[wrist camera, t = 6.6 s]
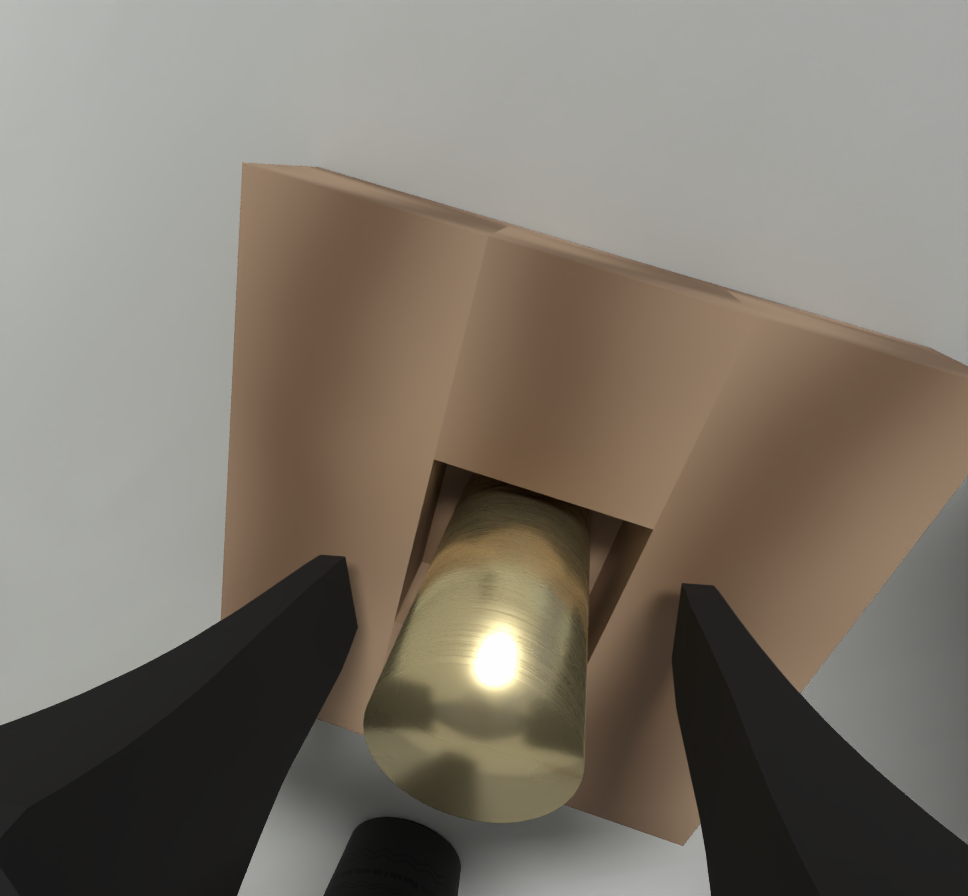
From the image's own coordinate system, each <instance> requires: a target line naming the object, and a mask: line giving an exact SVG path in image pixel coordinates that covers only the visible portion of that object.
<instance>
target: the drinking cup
mask: <svg viewBox="0 0 968 896" xmlns="http://www.w3.org/2000/svg"><path fill="white" fill-rule="evenodd" d="M460 870H461V865H460V860H459V857H458V855H457V853H456V852H455V850H454V849H453V847H452V846H451V845H450V844H449V843H448V842H447V841H446V840H445V839H443V838H442V837H441V836H440V835H438V834H437V833H435V832H433V831H432V830H430V829H428V828H426V827H424V826H421V825H419V824H416V823H413V822H410V821H406V820H401V819H394V818H378V819H372V820H369V821H366V822H364V823H362V824H361V825H359V826H358V827H357V828H356V829H355V830H354V832H353V833H352V835H351V838H350V840H349V842H348V844H347V846H346V848H345V850H344V853H343V855H342V857H341V859H340V861H339V863H338V865H337V868H336V870H335V872H334V874H333V876H332V878H331V880H330V883H329V885H328V887H327V889H326V891H325V893H324V895H323V896H458V888H459V879H460Z"/></svg>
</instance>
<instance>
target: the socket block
mask: <svg viewBox="0 0 968 896" xmlns="http://www.w3.org/2000/svg"><path fill="white" fill-rule="evenodd" d="M474 473H478V474H481V475H484V476H487V477H491V478H494V479H497V480H500V481H503V482H506V483H509V484H512V485H516V486H519V487H522V488H525V489H528V490H531V491H534V492H538V493H541V494H544V495H547V496H550V497H553V498H556V499H559V500H563V501H566V502H569V503H572V504H575V505H578V506H581V507H584V508H588V509H591V545H590V581H589V617H588V653H587V689H586V725H585V761H584V773H583V778H582V781H581V783H580V785H579V788H578V789H577V791H576V792H575V794H574V795H573V796H572V797H571V798H570V799H569V800H568V801H567V802H566V803H565V804H564V805H566V806H569V807H572V808H575V809H578V810H581V811H584V812H587V813H589V814H592V815H595V816H598V817H601V818H604V819H607V820H610V821H613V822H615V823H618V824H621V825H624V826H627V827H630V828H633V829H636V830H638V831H641V832H644V833H647V834H650V835H653V836H656V837H659V838H661V839H664V840H667V841H670V842H673V843H676V844H679V845H682V846H683V845H684V844H685V843H686V841H687V840H688V839H689V838H690V836H691V835H692V834H693V832H694V831H695V830H696V828H697V827H698V826H699V825H700V818H699V813H698V809H697V804H696V799H695V795H694V790H693V785H692V781H691V776H690V772H689V767H688V762H687V758H686V753H685V748H684V744H683V739H682V734H681V729H680V725H679V720H678V715H677V710H676V702H675V692H674V682H673V670H672V652H673V645H674V637H675V630H676V622H677V615H678V607H679V600H680V592H681V585H682V583H689V584H702V585H714V586H715V587H716V588H717V589H718V590H719V592H720V593H721V595H722V596H723V597H724V599H725V600H726V602H727V603H728V604H729V606H730V607H731V609H732V610H733V611H734V613H735V614H736V615H737V617H738V618H739V619H740V621H741V622H742V623H743V625H744V626H745V627H746V629H747V630H748V631H749V633H750V634H751V635H752V637H753V638H754V639H755V640H756V642H757V643H758V644H759V646H760V647H761V648H762V649H763V650H764V652H765V653H766V654H767V655H768V657H769V658H770V659H771V660H772V661H773V663H774V664H775V665H776V666H777V667H778V669H779V670H780V671H781V672H782V674H783V675H784V676H785V677H786V678H787V679H788V680H789V682H790V683H791V684H792V685H793V686H794V687H795V688H796V690H797V691H798V692H799V693H801V692H802V690H803V689H804V688H805V687H806V685H807V684H808V683H809V681H810V680H811V679H812V677H813V676H814V675H815V674H816V672H817V671H818V670H819V668H820V667H821V666H822V664H823V663H824V662H825V660H826V659H827V658H828V657H829V655H830V654H831V653H832V651H833V650H834V649H835V647H836V646H837V645H838V644H839V642H840V641H841V640H842V638H843V637H844V636H845V634H846V633H847V632H848V631H849V629H850V628H851V627H852V625H853V624H854V623H855V621H856V620H857V619H858V618H859V616H860V615H861V614H862V612H863V611H864V610H865V608H866V607H867V606H868V604H869V603H870V602H871V601H872V599H873V598H874V597H875V595H876V594H877V593H878V591H879V590H880V589H881V588H882V586H883V585H884V584H885V582H886V581H887V580H888V578H889V577H890V576H891V575H892V573H893V572H894V571H895V569H896V568H897V567H898V565H899V564H900V563H901V562H902V560H903V559H904V558H905V556H906V555H907V554H908V552H909V551H910V550H911V548H912V547H913V546H914V545H915V543H916V542H917V541H918V539H919V538H920V537H921V535H922V534H923V533H924V532H925V530H926V529H927V528H928V526H929V525H930V524H931V522H932V521H933V520H934V519H935V517H936V516H937V515H938V513H939V512H940V511H941V509H942V508H943V507H944V506H945V504H946V503H947V502H948V500H949V499H950V498H951V496H952V495H953V494H954V493H955V491H956V490H957V489H958V487H959V486H960V485H961V483H962V482H963V481H964V479H965V478H966V477H967V476H968V366H966V365H964V364H962V363H960V362H958V361H956V360H954V359H952V358H950V357H948V356H946V355H944V354H942V353H940V352H938V351H936V350H934V349H932V348H928V347H925V346H921V345H918V344H915V343H911V342H908V341H904V340H901V339H898V338H894V337H891V336H888V335H884V334H881V333H877V332H874V331H871V330H867V329H864V328H860V327H857V326H854V325H850V324H847V323H844V322H840V321H837V320H833V319H830V318H827V317H823V316H820V315H816V314H813V313H810V312H806V311H803V310H800V309H796V308H793V307H789V306H786V305H783V304H779V303H776V302H772V301H769V300H766V299H762V298H759V297H756V296H752V295H749V294H745V293H742V292H739V291H735V290H732V289H728V288H725V287H722V286H718V285H715V284H711V283H708V282H705V281H701V280H698V279H695V278H691V277H688V276H684V275H681V274H678V273H674V272H671V271H667V270H664V269H661V268H657V267H654V266H651V265H647V264H644V263H640V262H637V261H634V260H630V259H627V258H623V257H620V256H617V255H613V254H610V253H607V252H603V251H600V250H596V249H593V248H590V247H586V246H583V245H579V244H576V243H573V242H569V241H566V240H563V239H559V238H556V237H552V236H549V235H546V234H542V233H539V232H535V231H532V230H529V229H525V228H522V227H519V226H515V225H512V224H508V223H505V222H502V221H498V220H495V219H491V218H488V217H485V216H481V215H478V214H475V213H471V212H468V211H464V210H461V209H458V208H454V207H451V206H447V205H444V204H441V203H437V202H434V201H430V200H427V199H424V198H420V197H417V196H414V195H410V194H407V193H403V192H400V191H397V190H393V189H390V188H386V187H383V186H380V185H376V184H373V183H370V182H366V181H363V180H359V179H356V178H353V177H349V176H346V175H342V174H339V173H336V172H332V171H329V170H326V169H322V168H319V167H307V166H291V165H274V164H257V163H243V164H242V185H241V206H240V227H239V248H238V269H237V290H236V311H235V333H234V354H233V375H232V396H231V417H230V438H229V459H228V480H227V501H226V522H225V543H224V564H223V585H222V607H221V620H223V619H224V618H226V617H227V616H229V615H231V614H232V613H234V612H235V611H237V610H239V609H240V608H242V607H243V606H245V605H246V604H248V603H249V602H250V601H252V600H253V599H255V598H256V597H258V596H259V595H261V594H262V593H264V592H265V591H267V590H268V589H270V588H271V587H273V586H274V585H275V584H277V583H278V582H280V581H281V580H283V579H284V578H286V577H287V576H288V575H290V574H291V573H293V572H294V571H296V570H297V569H299V568H300V567H302V566H303V565H305V564H306V563H308V562H309V561H311V560H312V559H314V558H315V557H317V556H319V555H332V556H345V557H346V562H347V568H348V574H349V579H350V585H351V591H352V596H353V602H354V608H355V613H356V619H357V625H358V629H357V631H356V634H355V637H354V640H353V643H352V645H351V648H350V651H349V653H348V656H347V658H346V661H345V664H344V666H343V669H342V671H341V673H340V675H339V677H338V679H337V680H336V682H335V684H334V686H333V688H332V690H331V692H330V694H329V696H328V698H327V699H326V701H325V703H324V705H323V707H322V709H321V711H320V713H319V714H318V716H317V718H316V719H319V720H322V721H325V722H328V723H331V724H333V725H336V726H339V727H342V728H345V729H348V730H351V731H354V732H356V733H359V734H362V735H364V729H363V720H364V713H365V710H366V707H367V704H368V702H369V699H370V697H371V695H372V693H373V691H374V688H375V686H376V684H377V682H378V679H379V677H380V675H381V673H382V670H383V668H384V666H385V664H386V662H387V659H388V657H389V655H390V653H391V650H392V648H393V646H394V644H395V642H396V639H397V637H398V635H399V633H400V630H401V628H402V626H403V624H404V621H405V619H406V617H407V615H408V613H409V610H410V608H411V606H412V604H413V601H414V599H415V597H416V595H417V593H418V590H419V588H420V586H421V584H422V581H423V579H424V577H425V575H426V573H427V570H428V568H429V566H430V564H431V561H432V559H433V557H434V555H435V552H436V550H437V548H438V546H439V544H440V541H441V539H442V537H443V535H444V532H445V530H446V528H447V526H448V524H449V521H450V519H451V517H452V515H453V512H454V510H455V508H456V506H457V503H458V501H459V499H460V497H461V495H462V492H463V490H464V488H465V486H466V484H467V482H468V481H469V479H470V478H471V477H472V475H473V474H474Z"/></svg>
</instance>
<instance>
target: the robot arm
mask: <svg viewBox="0 0 968 896" xmlns="http://www.w3.org/2000/svg"><path fill="white" fill-rule="evenodd" d="M357 629H358V625H357V619H356V613H355V608H354V602H353V596H352V591H351V585H350V579H349V574H348V568H347V562H346V557H345V556H332V555H319V556H317V557H315V558H314V559H312V560H311V561H309V562H308V563H306V564H305V565H303V566H302V567H300V568H299V569H297V570H296V571H294V572H293V573H291V574H290V575H288V576H287V577H286V578H284V579H283V580H281V581H280V582H278V583H277V584H275V585H274V586H273V587H271V588H270V589H268V590H267V591H265V592H264V593H262V594H261V595H259V596H258V597H256V598H255V599H253V600H252V601H250V602H249V603H248V604H246V605H245V606H243V607H242V608H240V609H239V610H237V611H235V612H234V613H232V614H231V615H229V616H227V617H226V618H224V619H223V620H221V621H219V622H218V623H216V624H215V625H213V626H211V627H210V628H208V629H207V630H205V631H203V632H202V633H200V634H199V635H197V636H195V637H194V638H192V639H190V640H189V641H187V642H185V643H183V644H182V645H180V646H178V647H176V648H174V649H173V650H171V651H169V652H167V653H165V654H163V655H161V656H159V657H158V658H156V659H154V660H152V661H150V662H148V663H146V664H144V665H142V666H140V667H138V668H136V669H134V670H132V671H130V672H128V673H126V674H124V675H121V676H119V677H117V678H115V679H113V680H111V681H108V682H106V683H104V684H102V685H100V686H98V687H95V688H93V689H91V690H89V691H87V692H85V693H82V694H80V695H78V696H75V697H73V698H70V699H68V700H66V701H63V702H61V703H58V704H56V705H53V706H51V707H48V708H46V709H43V710H41V711H38V712H35V713H33V714H30V715H28V716H25V717H22V718H20V719H17V720H14V721H12V722H9V723H6V724H3V725H0V896H237V894H238V892H239V889H240V886H241V884H242V881H243V879H244V876H245V874H246V871H247V868H248V866H249V863H250V861H251V858H252V856H253V853H254V851H255V848H256V846H257V843H258V840H259V838H260V835H261V833H262V831H263V828H264V826H265V823H266V821H267V819H268V816H269V814H270V811H271V809H272V807H273V804H274V802H275V800H276V797H277V795H278V792H279V790H280V788H281V785H282V783H283V781H284V779H285V777H286V775H287V773H288V771H289V769H290V767H291V765H292V763H293V761H294V759H295V757H296V755H297V753H298V752H299V750H300V748H301V746H302V744H303V742H304V740H305V739H306V737H307V735H308V733H309V731H310V729H311V727H312V726H313V724H314V722H315V720H316V718H317V716H318V714H319V713H320V711H321V709H322V707H323V705H324V703H325V701H326V699H327V698H328V696H329V694H330V692H331V690H332V688H333V686H334V684H335V682H336V680H337V679H338V677H339V675H340V673H341V671H342V669H343V666H344V664H345V661H346V658H347V656H348V653H349V651H350V648H351V645H352V643H353V640H354V637H355V634H356V631H357ZM672 670H673V682H674V692H675V702H676V710H677V715H678V720H679V725H680V729H681V734H682V739H683V744H684V748H685V753H686V758H687V762H688V767H689V772H690V776H691V781H692V785H693V790H694V795H695V799H696V804H697V809H698V813H699V818H700V823H701V828H702V834H703V839H704V845H705V851H706V858H707V866H708V874H709V882H710V890H711V896H968V845H967V844H966V843H965V842H963V841H962V840H961V839H959V838H958V837H957V836H956V835H954V834H953V833H952V832H951V831H949V830H948V829H947V828H945V827H944V826H943V825H942V824H940V823H939V822H938V821H937V820H935V819H934V818H933V817H932V816H930V815H929V814H928V813H927V812H926V811H924V810H923V809H922V808H921V807H920V806H918V805H917V804H916V803H915V802H914V801H913V800H911V799H910V798H909V797H908V796H907V795H905V794H904V793H903V792H902V791H901V790H900V789H898V788H897V787H896V786H895V785H894V784H892V783H891V782H890V781H889V780H888V779H886V778H885V777H884V776H883V775H882V774H881V773H880V772H879V771H878V770H876V769H875V768H874V767H873V766H872V765H871V764H870V763H869V762H867V761H866V760H865V759H864V758H863V757H862V756H861V755H860V754H859V753H858V752H857V751H856V750H855V749H854V748H853V747H852V746H851V745H850V744H848V743H847V742H846V741H845V740H844V739H843V738H842V737H841V736H840V735H839V734H838V733H837V732H836V731H835V730H834V729H833V728H832V727H831V726H830V725H829V724H828V723H827V722H826V721H825V720H824V719H823V718H822V717H821V716H820V715H819V714H818V712H817V711H816V710H815V709H814V708H813V707H812V706H811V705H810V704H809V703H808V702H807V701H806V699H805V698H804V697H803V696H802V695H801V694H800V693H799V692H798V691H797V690H796V688H795V687H794V686H793V685H792V684H791V683H790V682H789V680H788V679H787V678H786V677H785V676H784V675H783V674H782V672H781V671H780V670H779V669H778V667H777V666H776V665H775V664H774V663H773V661H772V660H771V659H770V658H769V657H768V655H767V654H766V653H765V652H764V650H763V649H762V648H761V647H760V646H759V644H758V643H757V642H756V640H755V639H754V638H753V637H752V635H751V634H750V633H749V631H748V630H747V629H746V627H745V626H744V625H743V623H742V622H741V621H740V619H739V618H738V617H737V615H736V614H735V613H734V611H733V610H732V609H731V607H730V606H729V604H728V603H727V602H726V600H725V599H724V597H723V596H722V595H721V593H720V592H719V590H718V589H717V588H716V587H715V586H714V585H702V584H689V583H682V585H681V592H680V600H679V607H678V615H677V622H676V630H675V637H674V645H673V652H672Z"/></svg>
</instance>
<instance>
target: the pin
mask: <svg viewBox="0 0 968 896" xmlns="http://www.w3.org/2000/svg"><path fill="white" fill-rule="evenodd" d="M590 545H591V509H588V508H584V507H581V506H578V505H575V504H572V503H569V502H566V501H563V500H559V499H556V498H553V497H550V496H547V495H544V494H541V493H538V492H534V491H531V490H528V489H525V488H522V487H519V486H516V485H512V484H509V483H506V482H503V481H500V480H497V479H494V478H491V477H487V476H484V475H481V474H478V473H474V474H473V475H472V477H471V478H470V479H469V481H468V482H467V484H466V486H465V488H464V490H463V492H462V495H461V497H460V499H459V501H458V503H457V506H456V508H455V510H454V512H453V515H452V517H451V519H450V521H449V524H448V526H447V528H446V530H445V532H444V535H443V537H442V539H441V541H440V544H439V546H438V548H437V550H436V552H435V555H434V557H433V559H432V561H431V564H430V566H429V568H428V570H427V573H426V575H425V577H424V579H423V581H422V584H421V586H420V588H419V590H418V593H417V595H416V597H415V599H414V601H413V604H412V606H411V608H410V610H409V613H408V615H407V617H406V619H405V621H404V624H403V626H402V628H401V630H400V633H399V635H398V637H397V639H396V642H395V644H394V646H393V648H392V650H391V653H390V655H389V657H388V659H387V662H386V664H385V666H384V668H383V670H382V673H381V675H380V677H379V679H378V682H377V684H376V686H375V688H374V691H373V693H372V695H371V697H370V699H369V702H368V704H367V707H366V710H365V713H364V720H363V729H364V736H365V740H366V744H367V746H368V748H369V751H370V753H371V755H372V757H373V758H374V760H375V762H376V763H377V764H378V766H379V767H380V768H381V770H382V771H383V772H384V773H385V774H386V775H387V776H388V777H389V779H390V780H391V781H393V782H394V783H395V784H396V785H397V786H398V787H399V788H401V789H402V790H403V791H405V792H406V793H408V794H409V795H410V796H412V797H414V798H415V799H417V800H419V801H420V802H422V803H424V804H426V805H428V806H430V807H432V808H434V809H437V810H439V811H442V812H444V813H447V814H450V815H453V816H457V817H460V818H464V819H469V820H473V821H480V822H489V823H514V822H522V821H527V820H532V819H536V818H539V817H542V816H544V815H547V814H549V813H551V812H553V811H555V810H557V809H558V808H560V807H561V806H562V805H564V804H565V803H566V802H567V801H568V800H569V799H570V798H571V797H572V796H573V795H574V794H575V792H576V791H577V789H578V788H579V785H580V783H581V781H582V778H583V773H584V761H585V725H586V689H587V653H588V617H589V581H590Z"/></svg>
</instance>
